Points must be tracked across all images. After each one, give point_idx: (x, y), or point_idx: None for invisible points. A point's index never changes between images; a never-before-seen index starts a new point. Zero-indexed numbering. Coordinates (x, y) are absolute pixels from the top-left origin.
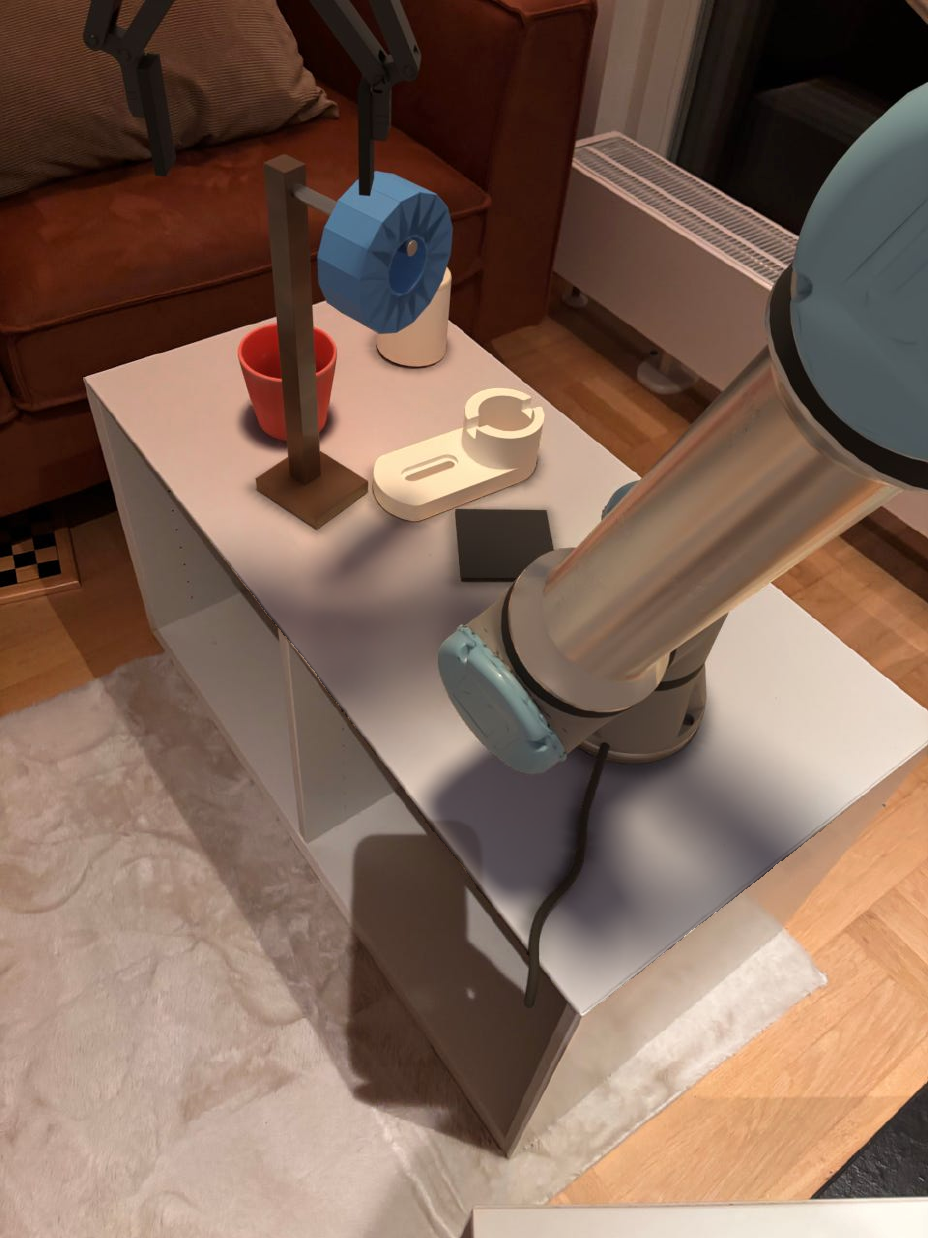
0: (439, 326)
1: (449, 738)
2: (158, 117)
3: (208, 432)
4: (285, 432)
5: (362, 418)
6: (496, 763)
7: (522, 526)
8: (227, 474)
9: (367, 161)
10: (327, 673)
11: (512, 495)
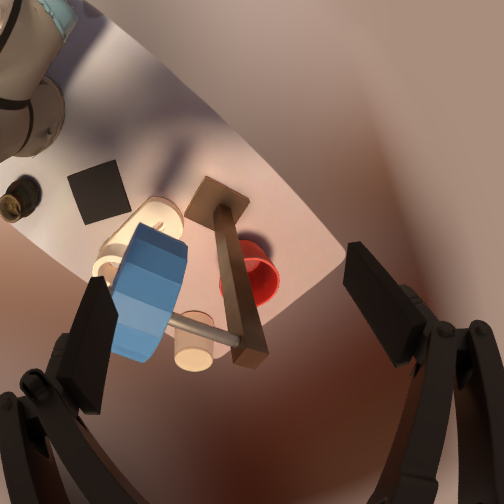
0: (176, 334)
1: (102, 56)
2: (378, 289)
3: (286, 235)
4: (242, 242)
5: (204, 268)
6: (79, 52)
7: (93, 208)
8: (268, 206)
9: (82, 304)
10: (173, 75)
11: (106, 232)
